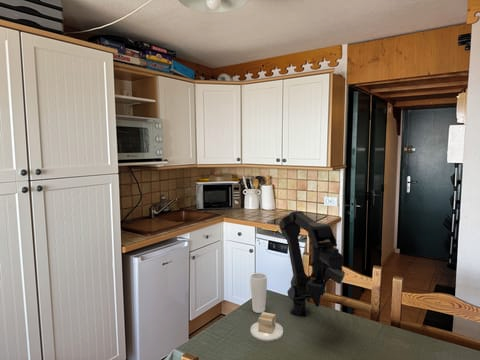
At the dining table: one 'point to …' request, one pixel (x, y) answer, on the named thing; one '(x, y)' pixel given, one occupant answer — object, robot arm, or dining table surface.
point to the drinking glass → (258, 291)
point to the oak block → (266, 323)
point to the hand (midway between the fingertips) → (319, 300)
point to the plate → (265, 336)
